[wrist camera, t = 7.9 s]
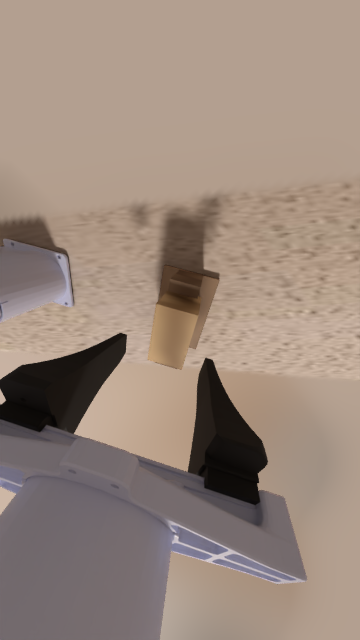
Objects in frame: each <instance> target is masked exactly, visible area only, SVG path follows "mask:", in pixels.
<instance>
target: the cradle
mask: <svg viewBox="0 0 360 640" xmlns="http://www.w3.org/2000/svg"><path fill="white" fill-rule="evenodd" d="M218 283H219V279H217V278H213V277H210V276H206V275H202V274H198V273H194V272H191V271H187V270H183V269H179V268H176V267H172V266H168V265H164V269H163V275H162V282H161V288H160V294H159V300H160V299H161V298H162V296H163V295H164V294H165V293H166V292H167V291H171V292H174V293H178V294H181V295H185V296H189V297H192V298H196V299H198V297H202V299H201V304H200V310H199V315H198V319H197V322H196V325H195V328H194V332H193V335H192V338H191V341H190V345H189V348H193V349H196V347H197V344H198V341H199V338H200V335H201V332H202V330H203V327H204V324H205V321H206V318H207V315H208V312H209V309H210V306H211V303H212V300H213V298H214V295H215V292H216V289H217V286H218ZM159 300H158V301H159ZM155 363H157V362H155ZM159 364H160V363H159ZM162 365H164V364H162ZM165 366H167V365H165ZM168 367H170V366H168ZM172 368H174V367H172ZM175 369H177V368H175Z"/></svg>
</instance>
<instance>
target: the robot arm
mask: <svg viewBox="0 0 360 640" xmlns="http://www.w3.org/2000/svg"><path fill="white" fill-rule="evenodd" d="M3 243H4V246H1V247H0V323H1V322H3V321H6V320H8V319H11V318H13V317H16V316H18V315H21V314H23V313H26V312H28V311H31V310H33V309H36V308H38V307H41V306H43V305H46V304H48V303H51V302H54V303H58V304H61V305H64V306H68V307H72V306H74V303H73V295H72V287H71V279H70V271H69V263H68V257H67V256H66V255H65V254H62V253H59V252H55V251H51V250H48V249H44V248H40V247H36V246H33V245H29V244H25V243H22V242H18V241H14V240H11V239H3ZM60 257H61V258H60ZM67 303H68V304H67ZM126 340H127V335H126V334H122V333H119V334H117V335H115V336H113V337H111V338H109V339H107V340H105V341H103V342H101V343H99V344H97V345H95V346H92V347H90V348H88V349H85V350H83V351H80V352H77V353H74V354H71V355H68V356H64V357H61V358H57V359H53V360H49V361H44V362H38V363H33V364H26V365H21V366H20V367H18V368H17V369H15V370H14V371H12V372H11V373H9V374H8V375H6V376H5V377H3V378H2V379H1V380H0V389H1V391H2V393H3V395H4V397H5V399H6V401H5V402H4V403H3V404H1V405H0V487H2V488H4V489H7V490H9V491H11V492H13V493H16V495H15V497H14V498H13V499H12V500H11V502H10V503H9V505H8V506H7V507H6V508H5V510H4V511H3V512H2V514H1V515H0V640H160V632H161V624H162V616H163V608H164V601H165V594H166V585H167V578H168V571H169V563H170V554H171V551H172V552H175V553H179V554H183V555H186V556H189V557H193V558H196V559H199V560H203V561H206V562H210V563H213V564H217V565H220V566H224V567H227V568H230V569H234V570H237V571H240V572H244V573H246V574H250V575H253V576H256V577H259V578H261V579H265V580H267V581H270V582H273V583H276V584H281V583H294V582H306V581H307V576H306V573H305V569H304V566H303V562H302V559H301V555H300V551H299V548H298V544H297V541H296V537H295V534H294V530H293V526H292V523H291V520H290V516H289V512H288V509H287V505H286V501H285V498H284V497H282V496H280V495H277V494H273V493H270V492H268V491H264V490H259V491H258V487H257V483H259V478H258V473H259V472H260V471H261V470H262V469H263V468H265V466H266V465H267V462H268V460H267V456H266V452H265V448H264V446H263V443H262V440H261V439H260V438H259V437H258V436H257V435H256V434H255V432H254V431H253V430H252V429H251V428H250V427H249V425H248V424H247V423H246V422H245V420H244V419H243V418H242V416H241V415H240V414H239V412H238V411H237V409H236V408H235V407H234V405H233V403H232V402H231V400H230V399H229V397H228V395H227V393H226V391H225V389H224V387H223V385H222V383H221V381H220V378H219V376H218V373H217V371H216V368H215V365H214V362H213V360H211V359H208V358H205V360H204V363H203V365H202V368H201V370H200V373H199V378H198V384H197V409H196V410H197V411H196V420H195V428H194V436H193V442H192V449H191V455H190V461H189V467H188V472H186V471H183V470H180V469H177V468H174V467H171V466H168V465H165V464H162V463H159V462H156V461H153V460H150V459H147V458H144V457H141V456H138V455H135V454H132V453H129V452H127V451H125V450H122V449H119V448H116V447H113V446H110V445H107V444H104V443H101V442H98V441H95V440H92V439H89V438H84V437H81V436H78V435H75V434H74V432H75V430H76V429H77V427H78V425H79V423H80V421H81V419H82V418H83V416H84V414H85V412H86V411H87V409H88V407H89V405H90V404H91V402H92V401H93V399H94V397H95V396H96V394H97V392H98V391H99V389H100V388H101V386H102V385H103V383H104V382H105V381H106V379H107V378H108V377H109V376H110V374H111V373H112V372H113V370H114V369H115V368H116V367H117V365H118V364H119V363H120V361H121V359H122V358H123V356H124V354H125V353H126Z"/></svg>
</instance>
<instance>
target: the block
mask: <svg viewBox="0 0 360 640" xmlns="http://www.w3.org/2000/svg"><path fill="white" fill-rule="evenodd" d="M201 299H202V297H198V299H196V298H192V297H189V296H185V295H181V294H178V293H174V292H171V291H167V292H166V293H165V294H164V295H163V296H162V298H161V299H160V300H159V301H158V302H157V303H156V308H155V314H154V321H153V327H152V334H151V340H150V347H149V353H148V360H150V361H154V362H157V363H160V364H164V365H167V366H170V367H174V368H177V369H180V370H181V369H182V367H183V364H184V361H185V357H186V354H187V351H188V348H189V345H190V341H191V338H192V335H193V332H194V328H195V325H196V322H197V319H198V315H199V310H200V304H201Z"/></svg>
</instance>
